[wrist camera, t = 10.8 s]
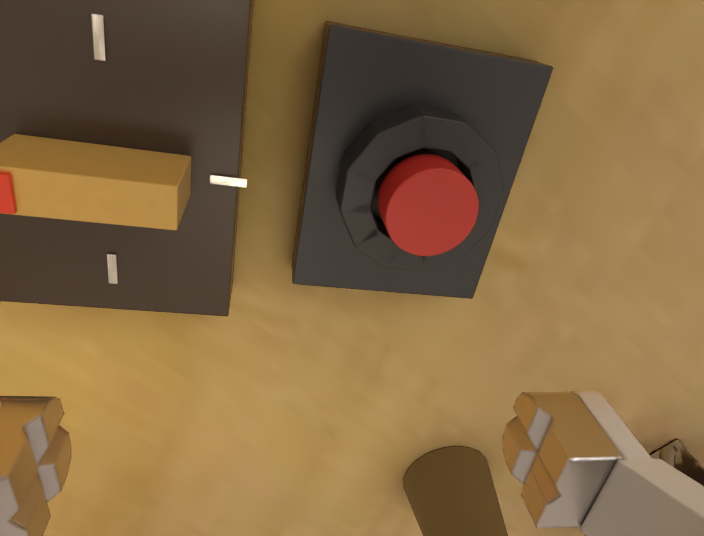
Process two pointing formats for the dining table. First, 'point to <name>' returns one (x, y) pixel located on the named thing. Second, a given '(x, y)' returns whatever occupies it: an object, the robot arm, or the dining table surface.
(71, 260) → the clock face plate
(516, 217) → the dining table surface
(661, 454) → the coffee box
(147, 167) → the upright wooden block
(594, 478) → the robot arm
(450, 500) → the brown pawn
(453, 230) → the button
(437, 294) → the alarm box
